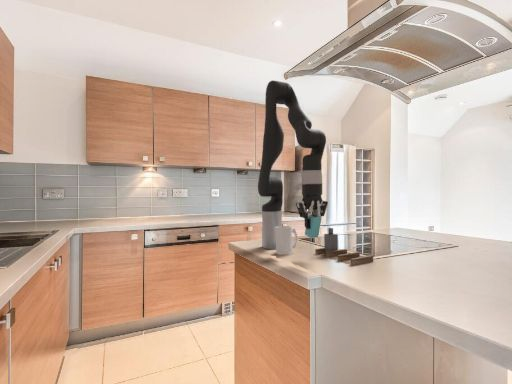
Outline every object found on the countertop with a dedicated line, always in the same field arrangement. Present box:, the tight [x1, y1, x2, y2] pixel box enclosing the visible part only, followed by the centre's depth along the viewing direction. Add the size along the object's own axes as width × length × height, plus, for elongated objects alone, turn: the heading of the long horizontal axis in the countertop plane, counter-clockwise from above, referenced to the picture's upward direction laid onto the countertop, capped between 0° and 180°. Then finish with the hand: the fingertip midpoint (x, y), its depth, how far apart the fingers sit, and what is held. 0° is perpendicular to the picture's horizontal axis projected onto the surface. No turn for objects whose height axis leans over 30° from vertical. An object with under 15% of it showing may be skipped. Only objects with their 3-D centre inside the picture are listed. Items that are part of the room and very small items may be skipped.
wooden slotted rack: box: [314, 247, 374, 266], centre depth 107 cm, size 20×10×3 cm, turn 28°
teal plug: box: [304, 209, 323, 239], centre depth 106 cm, size 4×4×10 cm
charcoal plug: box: [323, 227, 339, 254], centre depth 112 cm, size 4×4×10 cm
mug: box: [275, 225, 298, 256], centre depth 116 cm, size 10×7×12 cm, turn 116°
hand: (312, 228), depth 106 cm, fingers closed on teal plug, 3 cm apart
